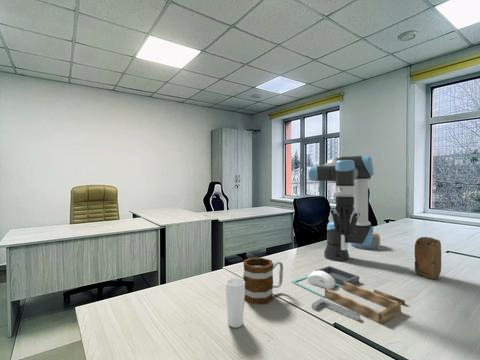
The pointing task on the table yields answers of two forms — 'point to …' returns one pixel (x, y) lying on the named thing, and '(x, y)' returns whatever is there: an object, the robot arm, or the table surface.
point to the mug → (260, 280)
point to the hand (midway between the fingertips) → (344, 249)
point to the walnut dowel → (389, 296)
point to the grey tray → (340, 275)
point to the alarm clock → (374, 243)
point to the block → (428, 257)
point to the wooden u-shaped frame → (380, 317)
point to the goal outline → (310, 289)
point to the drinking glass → (235, 301)
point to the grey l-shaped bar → (335, 308)
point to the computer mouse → (321, 279)
